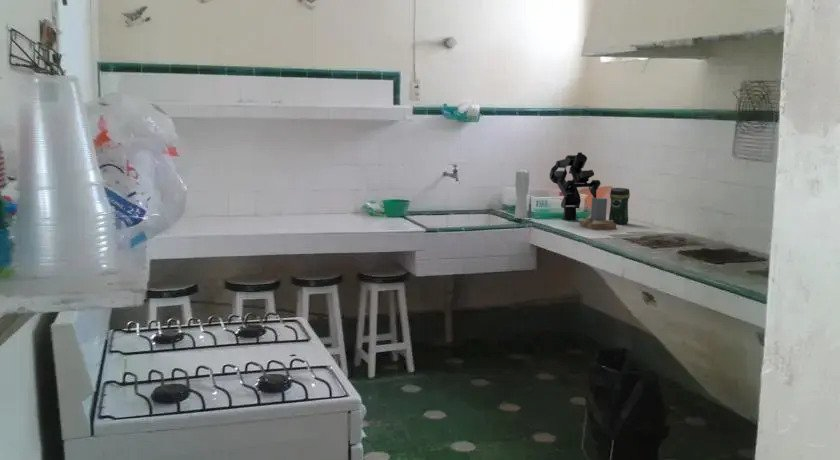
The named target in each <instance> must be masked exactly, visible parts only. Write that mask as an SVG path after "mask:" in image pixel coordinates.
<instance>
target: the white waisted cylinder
mask: <svg viewBox="0 0 840 460" xmlns="http://www.w3.org/2000/svg"><path fill="white" fill-rule="evenodd" d="M514 186H515V194H516V200H515V201H516V202H515V207H514V209H515V210H514V218H513V219H514V220H516V219H515V218H521V219H523V218H531V219H532V199H531V195H530V196H529V203H528V202H527V196H528V194H529V188H530V171H529V169H528V168H526V167H522V166H521V167H519V168H518V169H516V170H515V183H514Z"/></svg>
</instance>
